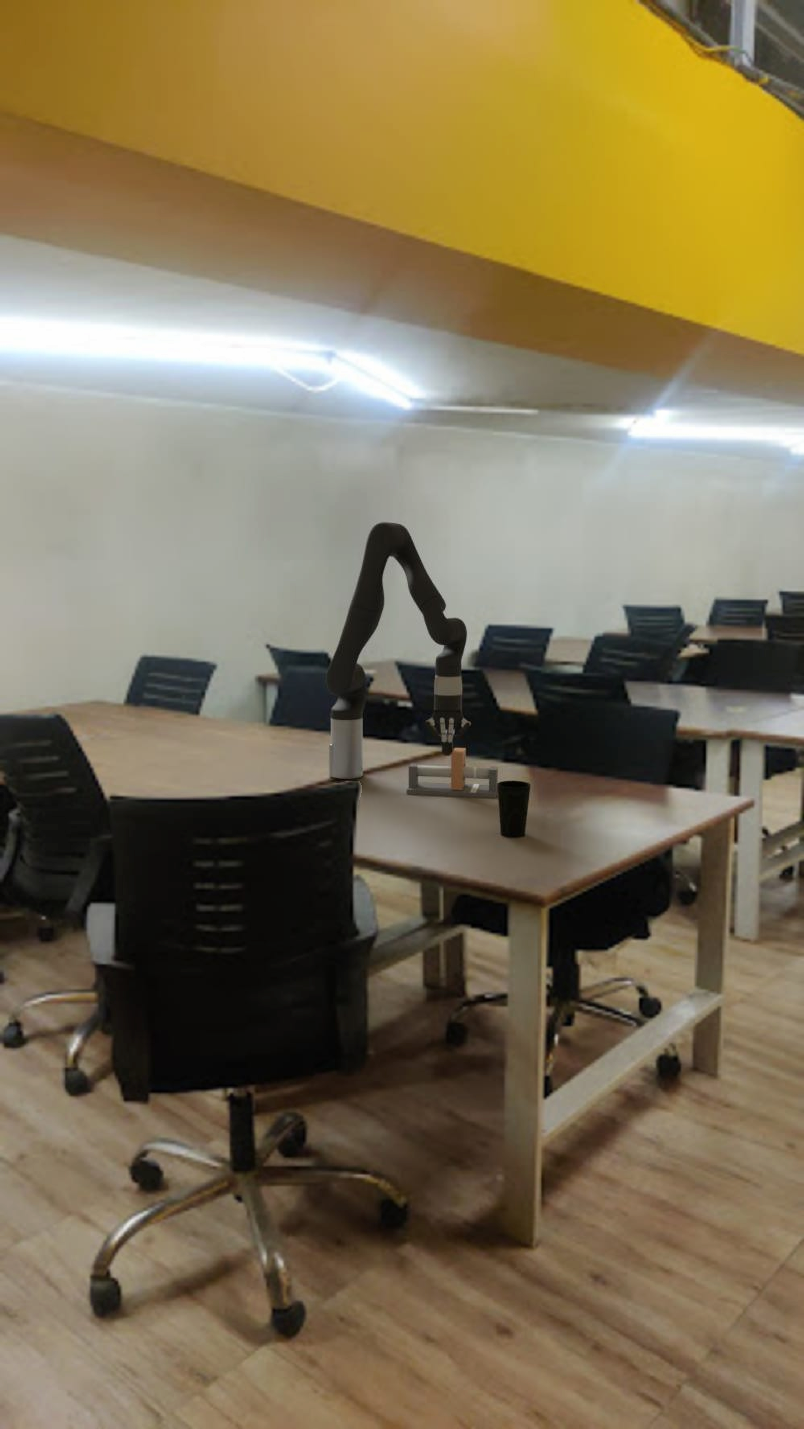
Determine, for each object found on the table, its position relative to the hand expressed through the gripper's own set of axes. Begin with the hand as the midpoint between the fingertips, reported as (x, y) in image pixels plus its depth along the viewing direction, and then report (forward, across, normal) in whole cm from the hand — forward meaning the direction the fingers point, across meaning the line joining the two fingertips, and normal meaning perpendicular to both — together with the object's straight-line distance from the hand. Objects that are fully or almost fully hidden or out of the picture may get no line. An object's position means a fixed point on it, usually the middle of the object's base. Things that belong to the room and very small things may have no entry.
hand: (447, 755), depth 279 cm
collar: (+9, +3, 0) cm, 9 cm away
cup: (+10, +21, -40) cm, 46 cm away
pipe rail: (+10, +2, 0) cm, 10 cm away
